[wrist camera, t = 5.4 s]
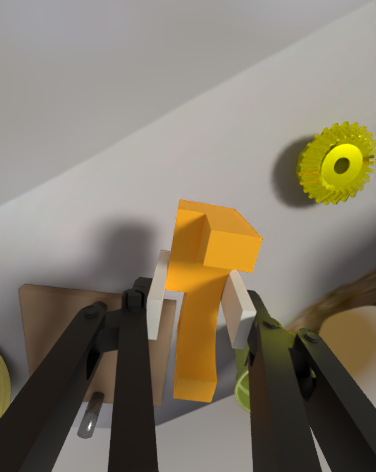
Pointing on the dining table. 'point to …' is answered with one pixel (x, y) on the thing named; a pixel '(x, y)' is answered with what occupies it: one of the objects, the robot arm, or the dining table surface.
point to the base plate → (62, 313)
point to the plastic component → (4, 387)
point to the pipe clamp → (204, 287)
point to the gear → (337, 163)
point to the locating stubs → (92, 405)
